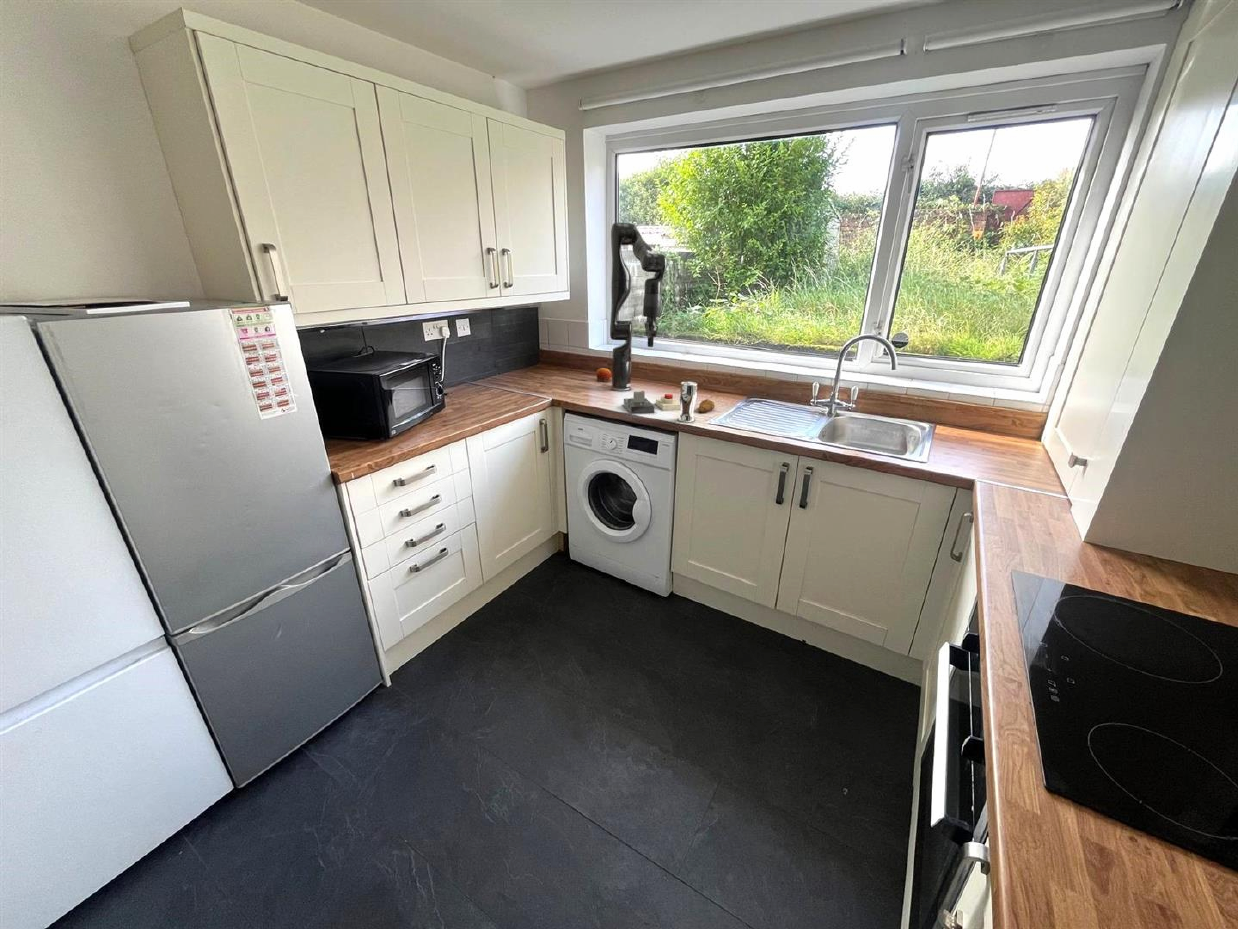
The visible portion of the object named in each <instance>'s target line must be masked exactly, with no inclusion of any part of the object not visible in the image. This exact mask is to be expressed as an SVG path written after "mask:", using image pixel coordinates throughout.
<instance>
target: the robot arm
mask: <svg viewBox="0 0 1238 929" xmlns="http://www.w3.org/2000/svg"><path fill="white" fill-rule="evenodd" d="M622 246H632V249H631V250H632V254H633V255H634V257H635V258H636V259H637V261H639V264H640V268H641V269H642V270H643V271H644V272H646V273H654V275H653V277H650V278H646V280H645V281H644V290H643V291H644V294H643V300H642V302H643V305H642V316H643V317H644V318H646V321H645V323H644V329H645V336H646V338H647V347H648V348H653V347H654V339H655V338H656V337H657V333H658V330H659V326H658V321H657V318H660V317H661V314H662V285H663V280H664V277H665V273H666V272H667V271H666V270H667V266H668V260H667V257H666V255H665V254H663V253H655V250H653V248H652V247H651V246H650V244H648V243H647V242H646V241H645V239H644V238H643V236H642V235H641V233H640V231H639V230H638V228H637V226H636V225H635V224H634V223H631V222H618V221H617V222H614V223H612V225H611V229H610V248H611V250H610V251H611V279H610V280H611V282H610V283H611V284H610V285H611V286H610V288H611V289H610V292H611V293H610V294H611V295H610V296H611V298H610V299H611V300H610V302H611V305H610V306H611V307H610V308H611V309H610V320H609V321H610V322H609V337H610V339H611V340H612V341H624V343H622V344H621V345H619V346H615V347H613V349H612V361H611V362H612V368H611V370H612V371H611V373H612V374H611V379H612V380H611V390H613V391H617V392H627V391H630V390H631V388H632V387H631V385H632V383H631V382H632V347H633V346H632V345H633V343H632V342H633V331H634V327H633V326H634V325H633V321H631V320H625V319H624V320H621V319H619V320H618V316H619V313H620V311H621V309H622V308H623V306H624V304H625V302H626V301H627V299H628V298H629V297H630V294H631V292H632V274H631V272H630V270H629V268H628V266H627V264H626V263H625V260H624V257H623V254H622Z"/></svg>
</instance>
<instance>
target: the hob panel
mask: <svg viewBox="0 0 1238 929" xmlns="http://www.w3.org/2000/svg"><path fill="white" fill-rule="evenodd" d="M623 406H624V408H625V409H626V410H627V411H628V412H629V413H630V414H632V415H634V414H654V413H655V405H654V404H653V403H652V402H651V401H650V400H648V399H647V397H645V398H644V402H641V403H634V402H633V397H632V398H623Z"/></svg>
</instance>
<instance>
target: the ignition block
mask: <svg viewBox="0 0 1238 929" xmlns="http://www.w3.org/2000/svg"><path fill="white" fill-rule="evenodd" d="M664 396H665V395H663V396H661V397H660V398H656V399H655V405H656V406H657V407H658V408H660V409H661V410H662V411H678V410H680V402H678V401H677V397H675V396H673V399H665V398H664Z"/></svg>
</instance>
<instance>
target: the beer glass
mask: <svg viewBox="0 0 1238 929" xmlns="http://www.w3.org/2000/svg"><path fill="white" fill-rule="evenodd" d="M678 397H679V398H678V399H679V404H680V411H679V416H678V420H679V422H680V421H681V422H683V423H692V422H694V421H695V415H694V412H695V407H696V403H697V399H698V398H697V397H698V383H697V382H695V381H681V382H680V386H679V396H678Z"/></svg>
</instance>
